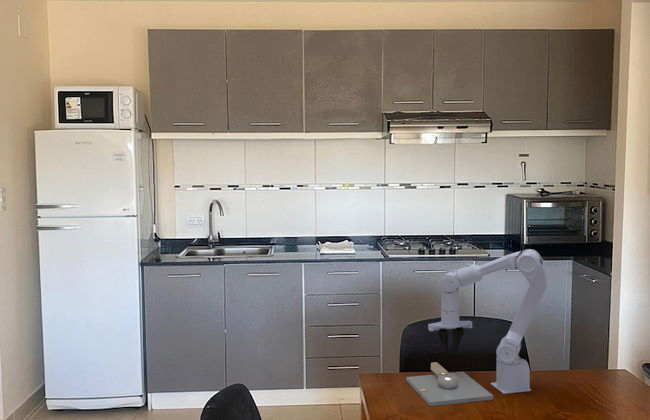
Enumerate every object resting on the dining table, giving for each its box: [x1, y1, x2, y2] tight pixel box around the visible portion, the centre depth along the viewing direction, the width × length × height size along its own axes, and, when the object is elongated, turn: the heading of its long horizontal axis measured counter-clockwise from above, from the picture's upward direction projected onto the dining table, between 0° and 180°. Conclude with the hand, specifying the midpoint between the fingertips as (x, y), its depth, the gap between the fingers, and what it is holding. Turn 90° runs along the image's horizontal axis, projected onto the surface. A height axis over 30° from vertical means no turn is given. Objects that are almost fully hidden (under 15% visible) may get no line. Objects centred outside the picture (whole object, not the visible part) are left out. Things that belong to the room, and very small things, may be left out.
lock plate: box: [405, 371, 494, 407], centre depth 170 cm, size 20×20×2 cm
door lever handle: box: [430, 361, 458, 389], centre depth 174 cm, size 14×6×4 cm, turn 12°
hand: (450, 350), depth 178 cm, fingers open, 3 cm apart
